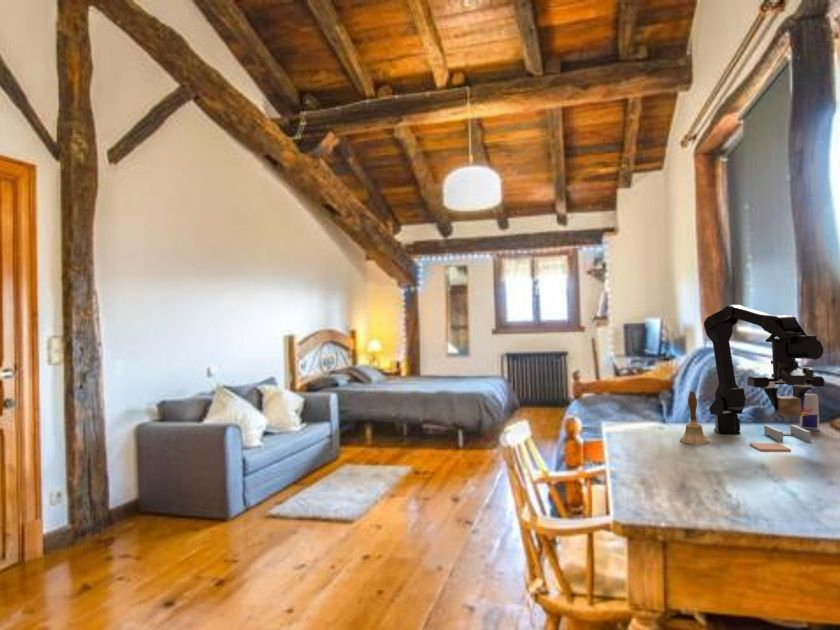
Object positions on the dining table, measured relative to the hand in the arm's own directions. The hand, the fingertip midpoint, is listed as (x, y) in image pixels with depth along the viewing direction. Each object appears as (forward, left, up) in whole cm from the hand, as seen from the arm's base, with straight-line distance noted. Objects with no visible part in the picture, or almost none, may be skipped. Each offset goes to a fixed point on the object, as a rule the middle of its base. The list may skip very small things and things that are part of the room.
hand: (786, 410), depth 162 cm
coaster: (-6, -2, -11) cm, 12 cm away
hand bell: (-24, +6, -11) cm, 27 cm away
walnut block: (0, -1, -1) cm, 1 cm away
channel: (+5, +13, -11) cm, 18 cm away
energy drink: (+17, +26, -11) cm, 33 cm away
